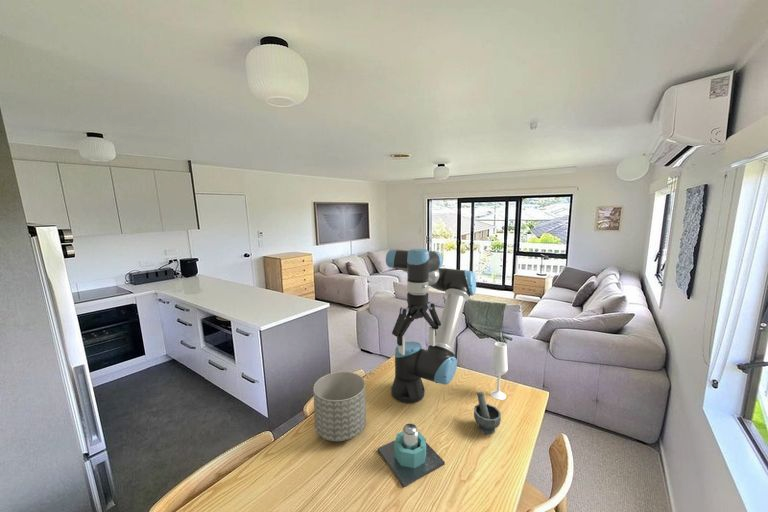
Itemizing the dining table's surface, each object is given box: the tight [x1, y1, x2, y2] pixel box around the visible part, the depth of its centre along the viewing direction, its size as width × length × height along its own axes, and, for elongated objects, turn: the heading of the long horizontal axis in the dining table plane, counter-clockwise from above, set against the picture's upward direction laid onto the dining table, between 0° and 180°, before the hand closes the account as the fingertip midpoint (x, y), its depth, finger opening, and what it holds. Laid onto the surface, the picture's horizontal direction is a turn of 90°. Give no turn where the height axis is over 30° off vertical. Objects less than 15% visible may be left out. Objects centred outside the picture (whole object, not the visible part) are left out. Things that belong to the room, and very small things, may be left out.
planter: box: [313, 371, 367, 442], centre depth 110 cm, size 19×19×18 cm
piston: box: [377, 423, 446, 488], centre depth 97 cm, size 16×16×11 cm
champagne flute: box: [490, 341, 509, 401], centre depth 130 cm, size 7×7×24 cm
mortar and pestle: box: [473, 391, 502, 435], centre depth 111 cm, size 11×9×12 cm
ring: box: [394, 430, 427, 468], centre depth 97 cm, size 10×10×5 cm
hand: (417, 349), depth 107 cm, fingers open, 13 cm apart
